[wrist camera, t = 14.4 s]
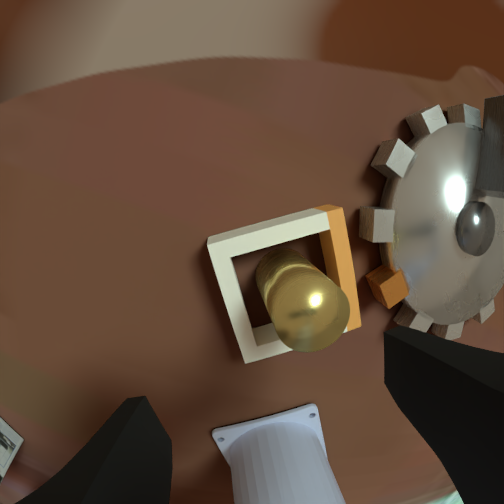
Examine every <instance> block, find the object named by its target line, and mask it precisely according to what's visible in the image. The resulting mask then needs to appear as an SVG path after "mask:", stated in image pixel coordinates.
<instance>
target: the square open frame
mask: <svg viewBox="0 0 504 504" xmlns="http://www.w3.org/2000/svg"><path fill="white" fill-rule="evenodd" d="M318 232H319V237H320V242H321V247H322V251H323V256H324V261H325V267H326V272H327V277H328V278H329V279H330V280H331V281H333V282H334V283H335V284H336V285H337V286H338V287H339V288H341V289H342V290H343V292H344V293H345V294H346V296H347V298H348V301H349V305H350V317H349V321H348V324H347V326H346V328H345V330H344V332H347V331H350V330H353V329H355V328H358V327H360V326H361V319H360V311H359V303H358V296H357V288H356V282H355V275H354V268H353V262H352V256H351V250H350V245H349V239H348V234H347V228H346V223H345V218H344V213H343V208H342V207H337V206H333V205H328V204H327V205H323V206H319V207H315V208H312V209H308V210H304V211H300V212H297V213H293V214H289V215H285V216H282V217H278V218H274V219H271V220H267V221H264V222H260V223H256V224H253V225H249V226H246V227H242V228H238V229H235V230H231V231H228V232H224V233H221V234H217V235H214V236H210V237H208V242H207V247H208V250H209V254H210V257H211V260H212V263H213V267H214V270H215V273H216V276H217V279H218V283H219V286H220V289H221V292H222V295H223V298H224V301H225V305H226V308H227V311H228V314H229V317H230V320H231V323H232V326H233V329H234V332H235V335H236V338H237V341H238V344H239V347H240V350H241V353H242V356H243V359H244V362H245V364H246V363H250V362H254V361H257V360H261V359H264V358H268V357H271V356H275V355H278V354H281V353H284V352H288V351H291V350H293V349H291V348H289V347H287V346H286V345H285V344H284V343H283V342H282V341H281V340H280V339H279V337H278V335H277V333H276V330H275V328H274V325H273V323H270V324H267V325H263V326H260V327H256V328H253V329H252V326H251V323H250V320H249V316H248V313H247V310H246V306H245V303H244V300H243V296H242V293H241V290H240V286H239V283H238V279H237V276H236V273H235V269H234V266H233V262H232V259H231V257H234V256H237V255H241V254H244V253H248V252H251V251H255V250H258V249H262V248H265V247H269V246H272V245H276V244H279V243H283V242H286V241H290V240H293V239H297V238H301V237H304V236H308V235H311V234H315V233H318ZM344 332H343V333H344Z"/></svg>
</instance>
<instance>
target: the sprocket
mask: <svg viewBox="0 0 504 504" xmlns="http://www.w3.org/2000/svg"><path fill="white" fill-rule="evenodd" d="M447 112H448V124H447V122H446V119H445V117H444V115H443V113H442V111H441V108H440V106H439V105H435V106H431V107H428V108H424V109H421V110H419V111H417V112H415V113H413V114H411V115H409V116H407V117H405V119H406V121H407V123H408V125H409V127H410V129H411V131H412V133H413V136H414V137H413V138H412V139H411V140H410V141H409V142H408V143H407V144H405V143H403V142H402V141H401V140H400V139H399V138H398V139H392V140H387V141H383V142H382V144H381V146H380V148H379V150H378V152H377V154H376V155H375V157H374V159H373V161H372V163H371V166H372V167H373V168H375V169H376V170H377V171H379V172H380V173H381V174H382V175H384V176H385V177H386V178H387V179H386V182H385V185H384V189H383V192H382V197H381V202H380V207H365V206H360V221H359V237H361V238H363V239H366V240H368V241H370V242H379V252H380V257H381V262H382V265H380V266H379V267H378V268H376V269H375V270H373V271H372V272H370V273H369V274H367V275H366V276H365V277H366V279H367V281H368V284H369V286H370V288H371V291H372V293H373V295H374V298H375V299H376V300H378V301H379V302H380V303H382V304H383V305H384V306H385V307H387V308H388V309H390V308H391V307H393V306H394V305H395V304H397V303H398V302H399V301H402V302H403V305H402V307H401V308H400V310H399V312H398V313H397V315H396V316H395V318H394V319H393V320H394V321H395V322H396V323H397V324H398V325H401V326H406V327H409V328H413V329H416V330H419V331H422V332H425V333H426V332H427V330H428V329H429V327H430V326H431V324H432V323H433V326H432V330H431V332H433V333H434V334H435V335H437V336H438V337H441V338H444V339H447V340H452V339H456V338H459V337H461V333H462V329H463V325H464V321H466V320H468V319H470V318H472V319H474V320H476V321H477V322H479V323H481V324H482V323H483V322H484V321H485V320H486V319H487V318H488V317H489V316H490V315H491V314H492V313H493V312H494V311H495V309H494V299H493V298H494V297H495V296H496V294H497V293H498V292H499V290H500V289H501V287H502V285H504V95H502V96H497V97H491V98H486V99H485V101H484V119H483V129H482V128H481V120H480V110H479V109H476V108H473V107H471V106H468V105H466V104H460V105H455V106H451V107H447Z"/></svg>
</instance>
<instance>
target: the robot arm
mask: <svg viewBox="0 0 504 504" xmlns="http://www.w3.org/2000/svg"><path fill="white" fill-rule="evenodd" d="M384 383H385V385H386V387H387V388H388V390H389V392H390V394H391V395H392V397H393V399H394V400H395V402H396V404H397V405H398V407H399V408H400V410H401V411H402V412H403V413H404V415H405V416H406V417H407V418H408V420H409V421H410V422H411V423H412V425H413V426H414V427H415V428H416V430H417V431H418V432H419V433H420V435H421V436H422V437H423V438H424V440H425V441H426V442H427V443H428V445H429V446H430V447H431V448H432V450H433V451H434V452H435V454H436V455H437V456H438V458H439V459H440V461H441V462H442V464H443V466H444V467H445V469H446V471H447V472H448V474H449V476H450V478H451V479H452V481H453V483H454V485H455V487H456V489H457V491H458V493H459V495H460V497H461V499H462V500H463V503H464V504H504V353H499V352H493V351H489V350H484V349H480V348H476V347H472V346H468V345H464V344H461V343H457V342H454V341H451V340H447V339H444V338H441V337H438V336H435V335H432V334H429V333H425V332H422V331H419V330H416V329H413V328H409V327H406V326H401V325H400V326H398V327H395V328H393V329H390V330H388V331H385V332H384ZM311 413H313V414H311ZM310 414H311V415H310ZM212 437H213V438H214V440H215V442H216V444H217V445H218V447H219V449H220V451H221V452H222V454H223V456H224V458H225V459H226V461H227V463H228V464H229V466H230V468H231V475H232V485H233V495H234V504H346V503H345V501H344V499H343V496H342V494H341V491H340V489H339V487H338V484H337V482H336V479H335V477H334V474H333V472H332V470H331V467H330V465H329V462H328V460H327V454H326V449H325V444H324V439H323V433H322V428H321V423H320V418H319V413H318V409H317V406H316V405H315V404H308V405H305V406H301V407H298V408H295V409H292V410H288V411H285V412H282V413H278V414H275V415H271V416H267V417H264V418H260V419H256V420H252V421H248V422H244V423H239V424H235V425H231V426H226V427H221V428H216V429H214V430H213V431H212ZM171 478H172V443H171V439H170V437H169V436H168V434H167V433H166V431H165V429H164V428H163V426H162V424H161V423H160V421H159V419H158V418H157V416H156V414H155V412H154V411H153V409H152V407H151V405H150V404H149V402H148V400H147V398H146V396H141V397H134V398H127V399H126V400H125V401H124V402H123V403H122V404H121V405H120V407H119V408H118V409H117V410H116V411H115V412H114V413H113V414H112V416H111V417H110V418H109V419H108V420H107V421H106V422H105V424H104V425H103V426H102V427H101V428H100V429H99V430H98V432H97V433H96V434H95V435H94V436H93V437H92V438H91V439H90V441H89V442H88V443H87V444H86V445H85V446H84V447H83V448H82V449H81V450H80V451H79V452H78V453H77V454H76V455H75V456H74V457H73V458H72V459H71V460H70V461H69V462H68V464H67V465H66V466H64V467H63V468H62V469H61V470H60V471H59V472H58V473H57V474H56V475H54V476H53V477H52V478H51V479H50V480H48V481H47V482H46V483H45V484H43V485H42V486H41V487H40V488H38V489H37V490H35V491H34V492H32V493H31V494H29V495H28V496H26V497H25V498H23V499H22V500H20V501H18V502H17V503H15V504H169V498H170V488H171Z"/></svg>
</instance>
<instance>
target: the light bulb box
mask: <svg viewBox="0 0 504 504" xmlns="http://www.w3.org/2000/svg"><path fill="white" fill-rule="evenodd" d="M23 441H24V439H23V438H22V437H21V436H19V435H18V434H17V433H16V432H15V431H14V430H13V429H12V428H11V427H10V426H9V425H8V424H7V423H6V422H5V421H4V420H3V419H2V418H1V417H0V483H1V482H2V480H3V478H4V476H5V474H6V472H7V470H8V468H9V466H10V464H11V462H12V461H13V459H14V457H15V455H16V453H17V451H18V450H19V448H20V446H21V444H22V442H23Z"/></svg>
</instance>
